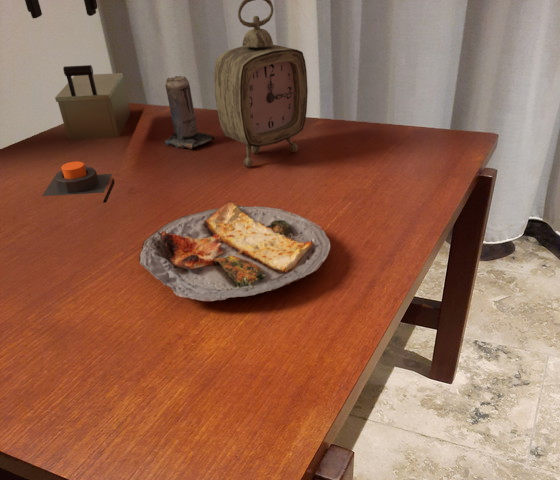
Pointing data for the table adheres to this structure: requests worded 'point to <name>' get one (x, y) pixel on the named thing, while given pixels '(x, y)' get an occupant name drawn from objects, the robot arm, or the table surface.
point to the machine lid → (87, 84)
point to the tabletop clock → (261, 90)
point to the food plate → (234, 251)
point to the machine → (96, 116)
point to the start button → (74, 170)
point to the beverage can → (183, 115)
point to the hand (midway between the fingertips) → (64, 15)
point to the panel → (80, 184)
